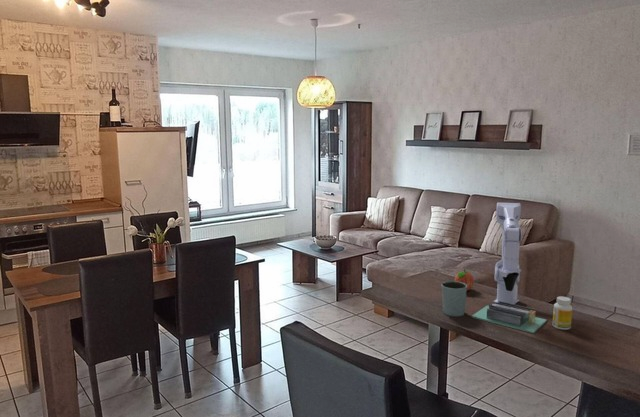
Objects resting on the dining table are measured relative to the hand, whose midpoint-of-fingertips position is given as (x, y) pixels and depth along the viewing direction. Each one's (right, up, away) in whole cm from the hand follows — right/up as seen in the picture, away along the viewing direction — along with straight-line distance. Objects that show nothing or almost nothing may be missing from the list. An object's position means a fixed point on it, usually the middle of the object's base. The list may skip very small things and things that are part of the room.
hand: (509, 290), depth 194 cm
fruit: (-9, -5, +32) cm, 34 cm away
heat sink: (0, -11, -3) cm, 11 cm away
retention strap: (-1, -7, -3) cm, 8 cm away
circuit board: (-1, -11, -2) cm, 11 cm away
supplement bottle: (+16, -12, -10) cm, 23 cm away
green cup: (-21, -10, +5) cm, 24 cm away
